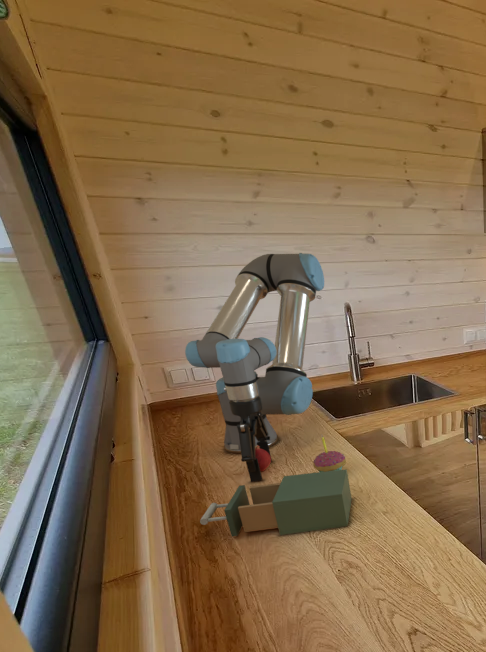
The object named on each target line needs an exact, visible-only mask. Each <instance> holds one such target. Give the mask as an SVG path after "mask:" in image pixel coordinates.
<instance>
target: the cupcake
mask: <svg viewBox="0 0 486 652" xmlns="http://www.w3.org/2000/svg"><path fill="white" fill-rule="evenodd" d="M321 440H322V441H321V442H322V445H323V450H324V451H323V452H321V453H319V454H318V455H317V456H316V457H315V458H314V459H313V468H314V469H315V470H316V471H318V472H327V471H336V470H343V466H345V465H346V463H347V458H346V455H345V454H344V453H342V452H340V451H336V450H328V448H327V444H326V440H325V437H324V436H323V435H321Z"/></svg>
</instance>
